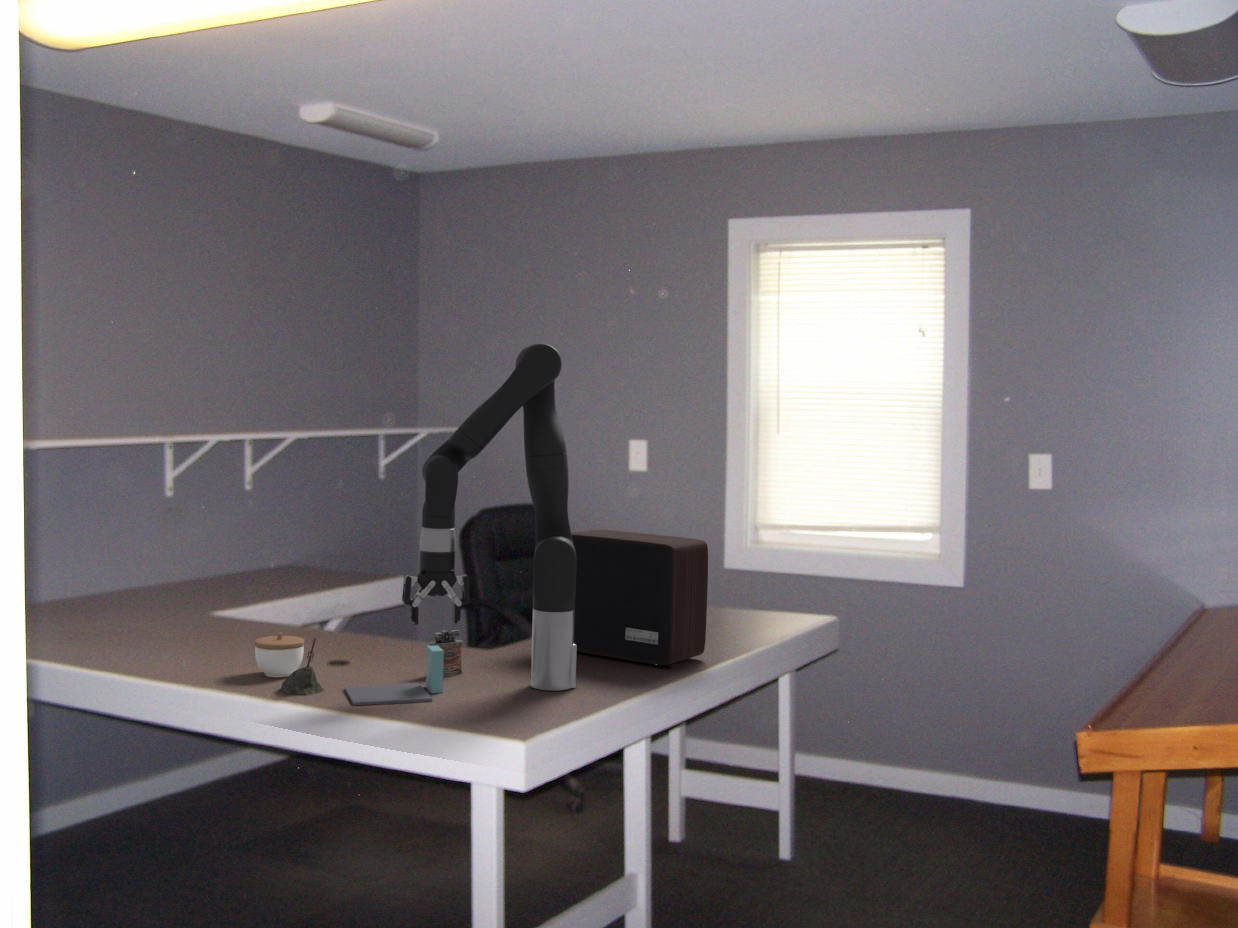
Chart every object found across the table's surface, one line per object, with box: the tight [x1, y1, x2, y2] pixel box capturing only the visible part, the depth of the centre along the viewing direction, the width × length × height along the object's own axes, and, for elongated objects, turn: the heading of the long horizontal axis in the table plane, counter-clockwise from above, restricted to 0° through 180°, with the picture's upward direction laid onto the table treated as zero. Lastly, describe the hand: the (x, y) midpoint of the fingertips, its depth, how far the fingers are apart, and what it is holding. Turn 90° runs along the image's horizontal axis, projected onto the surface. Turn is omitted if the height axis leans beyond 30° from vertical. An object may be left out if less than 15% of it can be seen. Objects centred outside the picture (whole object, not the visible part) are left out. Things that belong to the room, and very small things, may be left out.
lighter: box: [429, 629, 464, 677], centre depth 278 cm, size 8×3×10 cm, turn 126°
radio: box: [571, 529, 709, 666], centre depth 305 cm, size 36×18×30 cm, turn 56°
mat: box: [344, 682, 433, 707], centre depth 256 cm, size 16×14×1 cm
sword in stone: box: [280, 637, 325, 696], centre depth 259 cm, size 10×8×12 cm
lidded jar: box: [254, 632, 305, 678], centre depth 273 cm, size 11×11×9 cm
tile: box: [425, 645, 444, 694], centre depth 263 cm, size 2×6×9 cm, turn 20°
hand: (435, 623), depth 262 cm, fingers open, 8 cm apart
